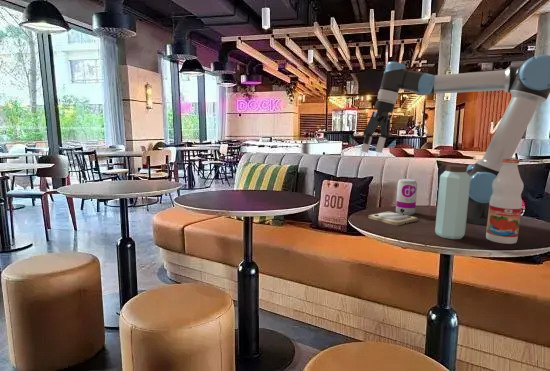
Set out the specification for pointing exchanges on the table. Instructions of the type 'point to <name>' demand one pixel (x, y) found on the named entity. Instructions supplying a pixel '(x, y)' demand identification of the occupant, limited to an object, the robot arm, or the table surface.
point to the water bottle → (452, 202)
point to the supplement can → (406, 196)
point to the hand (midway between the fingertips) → (371, 152)
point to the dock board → (392, 218)
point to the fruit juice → (505, 204)
